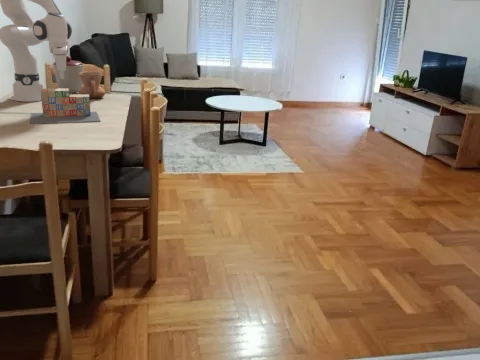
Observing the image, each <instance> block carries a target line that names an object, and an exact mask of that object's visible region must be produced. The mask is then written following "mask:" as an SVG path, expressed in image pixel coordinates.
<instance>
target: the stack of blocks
mask: <svg viewBox="0 0 480 360" xmlns="http://www.w3.org/2000/svg"><path fill="white" fill-rule="evenodd" d="M90 100H91V99H90V97H89V94H85V95H82V94H79V93H78V94H70V93H69V88H58V87H57V88H43V89H41V100H40V101H41V107H42V113H43V117H57V116H89V115H91V113H90V112H91V101H90Z"/></svg>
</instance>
